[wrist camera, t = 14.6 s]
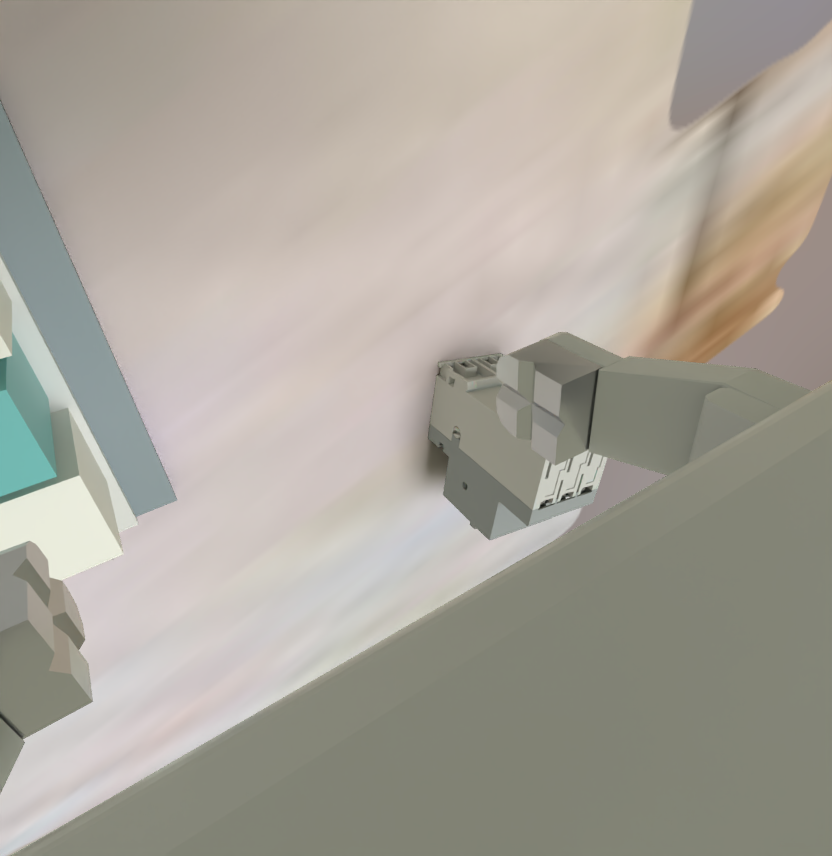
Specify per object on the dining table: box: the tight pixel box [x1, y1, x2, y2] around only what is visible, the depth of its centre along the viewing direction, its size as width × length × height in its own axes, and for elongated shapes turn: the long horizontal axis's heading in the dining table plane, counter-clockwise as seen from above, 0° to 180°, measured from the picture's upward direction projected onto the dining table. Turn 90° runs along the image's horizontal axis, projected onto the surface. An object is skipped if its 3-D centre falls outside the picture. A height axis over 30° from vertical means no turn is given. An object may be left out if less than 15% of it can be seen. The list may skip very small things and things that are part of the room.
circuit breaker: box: [428, 353, 607, 540], centre depth 51 cm, size 8×14×15 cm, turn 173°
